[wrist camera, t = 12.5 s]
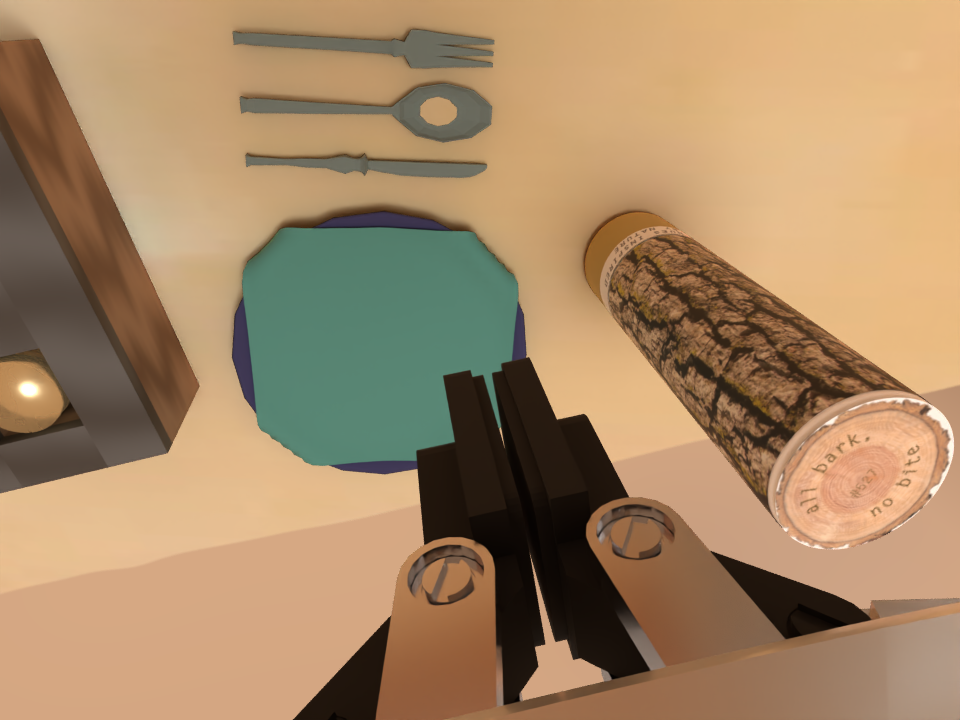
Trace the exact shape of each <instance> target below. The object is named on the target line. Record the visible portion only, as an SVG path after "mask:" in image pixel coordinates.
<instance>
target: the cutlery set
mask: <svg viewBox="0 0 960 720" xmlns="http://www.w3.org/2000/svg"><path fill="white" fill-rule="evenodd" d="M233 40H234V45H235V44H248V45H258V46H274V47H290V48H307V49H323V50H338V51H353V52H367V53H382V54H392V55H393V56H394V57H397V56H402V55H404V56H405V58H406V59H407V61H408V63H409V65H410V67H411V68H441V67H493V63H489V62H481V61H473V60H465V59H457V58H449V57H441V56H493V53H494V52H492V51H484V50H476V49H469V48H461V47H453V46H445V45H454V44H494V40H488V39H481V38H473V37H465V36H458V35H450V34H442V33H435V32H431V31H426V30H410V32H409V34H408V35H407V37H406V39H405V41H404V42H403V41H400V40H397V39H393V40H392V41H381V40H365V39H349V38H332V37H314V36H297V35H279V34H262V33H240V32H237V31H233ZM434 97H442V98H445V99H448V100H450V101H451V102H452V103H453V104H454V105H455V106H456V107H457V117H456V118H455V119H454V120H453V121H452V122H451V123H449V124H447V125H442V126H435V125H432V124H429V123H427V122H426V121H425V120H424V119H423V118H422V117H421V116H420V106H421V105H422V104H423V103H424V102H425V101H426V100H427V99H430V98H434ZM240 105H241V113H244V112H252V113H294V114H392V115H393V116H394V117H395V118H396V119H397V120H398V121H399V122H400V123H402V124H403V125H404V126H405V127H406V128H408V129H409V130H410V131H411V132H412V133H414V134H415V135H416V136H419V137H423V138H427V139H431V140H435V141H439V142H449V141H455V140H462V139H468V138H472V137H473V136H475V135H476V134H478V133H479V132H481V131H482V130H484V129H485V128H487V127H488V126H489V125H491V117H492V106H491V105H490V104H489V103H488V102H486V101H485V100H484V99H483V98H482V97H481V96H479V95H478V94H477V93H476V92H475V91H474V90H470V89H466V88H462V87H458V86H454V85H450V84H447V83H443V84H437V85H430V86H424V87H418V88H416V89H415V90H413V91H412V92H411V93H409V94H408V95H407V96H405V97H404V98H403V99H401V100H400V101H399V102H397V103H396V104H395V105H394V106H392V107H385V106H368V105H352V104H336V103H320V102H305V101H291V100H276V99H263V98H250V99H248V98H245V97H242V96H241V97H240ZM245 156H246V166H247V167H248V166H250V165H290V166H298V167H309V168H327V169H331V170H334V171H338V172H341V173H345V174H346V173H349V172H352V171H360V172H362V173H363V174H364V175H366V173H367V171H368V169H369V170H374V171H378V172H383V173H390V174H396V175H404V176H419V177H454V178H464V177H471V176H475V175H477V174H479V173H481V172H483V171H485V170H486V168H487V164H471V163H442V162H414V161H386V160H368V159H367V157H366V155H365V154H364V155H363V156H362V157H360V158H352V157H350V156H348V155H341V156H337V157H332V158H328V159H316V158H295V159H283V158H269V157H254V156H250V155H249V154H248V153H247V154H246V155H245ZM242 286H243V298H242V300H241V302H240V304H239V307H238V309H237V311H236V313H235V319H234V335H233V350H232V359H233V362H234V365H235V369H236V372H237V375H238V378H239V382H240V385H241V388H242V391H243V395H244V398H245V399H246V400H247V402H248V403H249V405H250V406H251V407H252V409H253V410H254V411H255V413H256V414H257V422H258V426H259V428H260V429H261V431H263V432H265V433H267V434H269V435H270V436H271V438H272V439H274V440H276V441H278V442H280V443H281V444H282V446H283V447H285V448H287V449H289V450H291V451H292V452H293V454H294V455H296V456H298V457H300V458H302V459H303V460H304V462H306V463H309V464H311V465H319V466H325V465H329V466H332V467H335V468H338V469H340V470H343V471H354V472H365V473H377V474H389V473H395V472H402V471H408V470H414V469H418V468H417V457H416V451H417V450H420V449H425V448H429V447H434V446H438V445H443V444H448V443H452V442H455V440H454V435H453V429H452V424H451V418H450V413H449V407H448V402H447V396H446V390H445V385H444V379H443V375H448V374H453V373H457V372H462V371H467V370H471V373H472V377H474V376H479V375H483V376H484V379H485V383H486V386H487V389H488V393H489V396H490V400H491V403H492V407H493V410H494V413H495V417H496V420H497V424H498V427H499V428H500V427H501V423H500V418H499V412H498V407H497V401H496V396H495V390H494V384H493V379H492V373H493V372H498V371H502V369H501V363H504V362H509V361H514V360H518V359H523V358H526V355H527V354H526V340H525V325H524V314H523V312H522V309H521V307H520V305H519V302H518V283H517V281H516V278H515V276H514V274H512V273H510V272H508V271H507V270H506V268H505V266H504V265H503V264H501V263H500V262H498V261H497V259H496V257H495V255H494V254H492V253H490V252H489V251H488V250H487V248H486V246H485V244H484V243H482V242H481V241H479V240H478V239H477V236H476V234H475V233H473V232H469V231H453V230H451V229H449V228H447V227H445V226H443V225H441V224H439V223H437V222H436V221H434V220H430V219H425V218H419V217H414V216H408V215H402V214H397V213H391V212H386V211H381V212H373V213H366V214H358V215H351V216H343V217H335V218H332V219H330V220H328V221H326V222H324V223H321V224H319V225H317V226H315V227H313V228H283V229H280V230H279V231H278V232H277V233H276V235H275V236H274V237H273V238H272V240H271V241H270V242H269V243H268V244H267V245H266V246H265V247H264V248H263V249H262V250H261V251H260V252H259V253H258V254H256V255H255V256H254V257H253V258H252V259H250V260H249V261H248V262H247V265H246V267H245V269H244V271H243V280H242Z"/></svg>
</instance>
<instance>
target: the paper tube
mask: <svg viewBox="0 0 960 720" xmlns="http://www.w3.org/2000/svg"><path fill="white" fill-rule="evenodd" d="M585 273H586V278H587V281H588V283H589V286H590V288H591V289H592V291H593V292H594V293H595V295H596V296H597V297H598V298H599V300H600V301H601V302H602V303H603V305H604V306H605V307H606V309H607V310H608V312H609V313H610V314H611V315H612V317H613V318H614V319H615V320H616V322H617V323H618V324H619V325H620V327H621V328H622V329H623V330H624V332H625V333H626V334H627V335H628V337H629V338H630V339H631V340H632V342H633V343H634V344H635V345H636V347H637V348H638V349H639V350H640V352H641V353H642V354H643V355H644V357H645V358H646V359H647V360H648V362H649V363H650V364H651V365H652V367H653V368H654V369H655V370H656V372H657V373H658V374H659V375H660V377H661V378H662V379H663V380H664V382H665V383H666V384H667V385H668V387H669V388H670V389H671V390H672V392H673V393H674V394H675V395H676V397H677V398H678V399H679V400H680V402H681V403H682V404H683V405H684V407H685V408H686V409H687V410H688V412H689V413H690V414H691V415H692V417H693V418H694V419H695V420H696V422H697V423H698V424H699V425H700V427H701V428H702V429H703V430H704V432H705V433H706V434H707V435H708V437H709V438H710V439H711V440H712V442H713V443H714V444H715V445H716V447H717V448H718V449H719V450H720V452H721V453H722V454H723V455H724V457H725V458H726V459H727V460H728V462H729V463H730V464H731V465H732V467H733V468H734V469H735V470H736V472H737V473H738V474H739V475H740V477H741V478H742V479H743V480H744V482H745V483H746V484H747V485H748V487H749V488H750V489H751V490H752V492H753V493H754V494H755V495H756V497H757V498H758V499H759V500H760V502H761V503H762V504H763V505H764V507H765V508H766V509H767V510H768V512H769V513H770V514H771V515H772V517H773V518H774V519H775V520H776V522H777V523H778V524H779V525H780V526H781V527H782V528H783V529H784V530H785V532H786V533H787V534H788V535H789V536H791V537H792V538H793V539H794V540H796V541H798V542H800V543H802V544H804V545H806V546H810V547H814V548H819V549H842V548H849V547H854V546H858V545H862V544H865V543H868V542H870V541H873V540H875V539H878V538H880V537H882V536H884V535H886V534H888V533H890V532H891V531H893V530H895V529H896V528H898V527H900V526H901V525H903V524H904V523H905V522H907V521H908V520H909V519H910V518H912V517H913V516H914V515H915V514H917V513H918V512H919V511H920V510H921V509H922V508H923V507H924V506H925V505H926V504H927V503H928V501H929V500H930V499H931V498H932V497H933V496H934V494H935V493H936V492H937V490H938V489H939V487H940V485H941V484H942V482H943V481H944V479H945V477H946V475H947V472H948V470H949V467H950V464H951V461H952V456H953V450H954V439H953V433H952V429H951V427H950V424H949V422H948V421H947V419H946V418H945V416H944V415H943V414H942V413H941V412H940V411H938V410H937V409H936V408H935V407H933V406H932V405H931V404H930V403H929V402H928V401H926V400H925V399H924V398H922V397H921V396H919V395H918V394H916V393H915V392H914V391H912V390H911V389H909V388H908V387H906V386H905V385H903V384H902V383H901V382H899V381H898V380H896V379H895V378H893V377H892V376H890V375H889V374H888V373H886V372H885V371H883V370H882V369H880V368H879V367H877V366H876V365H874V364H873V363H872V362H870V361H869V360H867V359H866V358H864V357H863V356H861V355H860V354H859V353H857V352H856V351H854V350H853V349H851V348H850V347H848V346H847V345H846V344H844V343H843V342H841V341H840V340H838V339H837V338H835V337H834V336H833V335H831V334H830V333H828V332H827V331H825V330H824V329H822V328H821V327H820V326H818V325H817V324H815V323H814V322H812V321H811V320H809V319H808V318H807V317H805V316H804V315H802V314H801V313H799V312H798V311H796V310H795V309H794V308H792V307H791V306H789V305H788V304H786V303H785V302H783V301H782V300H781V299H779V298H778V297H776V296H775V295H773V294H772V293H770V292H769V291H768V290H766V289H765V288H763V287H762V286H760V285H759V284H757V283H756V282H755V281H753V280H752V279H750V278H749V277H747V276H746V275H744V274H743V273H742V272H740V271H739V270H737V269H736V268H734V267H733V266H731V265H730V264H729V263H727V262H726V261H724V260H723V259H721V258H720V257H718V256H717V255H716V254H714V253H713V252H711V251H710V250H708V249H707V248H705V247H704V246H702V245H701V244H700V243H698V242H697V241H695V240H694V239H692V238H691V237H689V236H688V235H687V234H685V233H683V232H682V231H680V230H679V229H677V228H676V227H674V226H673V225H671V224H670V223H669V222H667V221H666V220H664V219H663V218H661V217H659V216H657V215H654V214H650V213H645V212H633V213H628V214H624V215H621V216H619V217H617V218H615V219H613V220H611V221H610V222H608V223H607V224H606V225H605V226H604V227H602V228H601V229H600V230H599V232H598V233H597V234H596V235H595V237H594V238H593V240H592V241H591V243H590V245H589V248H588V250H587V254H586V259H585Z"/></svg>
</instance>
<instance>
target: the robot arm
mask: <svg viewBox="0 0 960 720" xmlns="http://www.w3.org/2000/svg"><path fill="white" fill-rule="evenodd" d="M501 369H502V371H498V372H493V373H492V379H493V384H494V390H495V396H496V401H497V407H498V412H499V418H500V423H501V429H502V435H503V440H504V444H503V441H502V437H501V434H500V430H499V427H498V424H497V420H496V417H495V413H494V410H493V407H492V403H491V400H490V396H489V393H488V389H487V386H486V383H485V379H484V376H483V375H479V376H474V377H472V373H471V370H467V371H462V372H457V373H453V374H448V375H443V379H444V385H445V390H446V396H447V402H448V407H449V413H450V418H451V424H452V429H453V435H454V440H455V442H452V443H448V444H443V445H438V446H434V447H429V448H425V449H420V450H417V451H416V457H417V468H418V480H419V491H420V502H421V513H422V524H423V535H424V546H422V547H420V548H419V549H417V550H416V551H415V552H413V553H412V554H411V555H410V556H409V557H408V558H407V560H406V561H405V562H404V564H403V565H402V566H401V568H400V571H399V574H398V577H397V582H396V589H395V596H394V601H393V608H392V615H391V616H390V617H389V618H388V619H387V620H386V621H385V622H384V623H383V624H382V625H381V626H380V628H379V629H378V630H377V631H376V632H375V633H374V634H373V635H372V636H371V637H370V638H369V639H368V640H367V641H366V642H365V644H364V645H363V646H362V647H361V648H360V649H359V650H358V651H357V652H356V653H355V654H354V655H353V656H352V657H351V659H350V660H349V661H348V662H347V663H346V664H345V665H344V666H343V667H342V668H341V669H340V670H339V671H338V672H337V673H336V674H335V676H334V677H333V678H332V679H331V680H330V681H329V682H328V683H327V684H326V685H325V686H324V687H323V688H322V689H321V691H319V693H318V694H317V695H316V696H315V697H314V698H313V699H312V700H311V701H310V702H309V703H308V704H307V705H306V707H305V708H304V709H303V710H302V711H301V712H300V713H299V714H298V715H297V716H296V717H295V718H294V719H293V720H960V598H953V599H911V600H872V601H871V606H870V609H859V608H858V607H857V606H855V605H854V604H852V603H851V602H848V601H846V600H844V599H842V598H840V597H838V596H836V595H833V594H830V593H828V592H825V591H822V590H819V589H816V588H813V587H811V586H808V585H805V584H802V583H800V582H797V581H794V580H791V579H788V578H785V577H782V576H780V575H777V574H774V573H771V572H768V571H766V570H763V569H760V568H757V567H754V566H751V565H749V564H746V563H743V562H740V561H738V560H735V559H732V558H729V557H726V556H723V555H720V554H717V553H715V552H712V551H710V550H709V549H708V548H707V547H706V546H705V545H704V543H703V542H702V541H701V540H700V539H699V538H698V536H696V534H695V533H694V532H693V531H692V529H691V528H690V527H689V526H688V525H687V524H686V523H685V521H684V520H683V519H682V518H681V517H680V516H679V515H678V514H677V513H676V512H675V511H674V510H673V509H671V508H670V507H669V506H667V505H665V504H662V503H660V502H658V501H656V500H651V499H646V498H642V497H638V498H633V497H632V498H630V497H629V496H628V494H627V492H626V490H625V489H624V486H623V484H622V483H621V481H620V479H619V477H618V475H617V473H616V471H615V469H614V467H613V465H612V463H611V461H610V459H609V457H608V455H607V453H606V452H605V450H604V448H603V446H602V444H601V442H600V440H599V438H598V436H597V434H596V432H595V430H594V428H593V426H592V425H591V423H590V421H589V419H588V417H587V416H586V415H585V414H581V415H577V416H572V417H568V418H563V419H558V420H557V419H556V417H555V414H554V412H553V410H552V407H551V405H550V403H549V401H548V398H547V396H546V394H545V392H544V389H543V387H542V385H541V382H540V380H539V378H538V376H537V373H536V371H535V369H534V367H533V364H532V362H531V360H530V358H529V357H528V358H523V359H518V360H514V361H509V362H504V363H501ZM504 446H505V448H504ZM529 551H530V552H529ZM530 555H531V558H532V562H533V565H534V569H535V572H536V576H537V580H538V583H539V586H540V590H541V594H542V597H543V601H544V604H545V608H546V611H547V615H548V619H549V622H550V626H551V629H552V633H553V636H554V639H555V641H556V642H558V641H562V640H567V641H568V644H569V647H570V651H571V654H572V657H573V660H575V659H579V658H582V659H583V660H585V661H587V662H589V663H591V664H593V665H595V666H597V667H599V668H601V671H602V676H603V679H604V682H600V683H596V684H593V685H588V686H584V687H579V688H575V689H571V690H567V691H562V692H559V693H554V694H550V695H546V696H541V697H537V698H533V699H529V700H524V701H523V699H522V694H521V691H522V689H523V688H524V686H525V685H526V684H527V682H528V681H529V679H530V678H531V676H532V675H533V673H534V672H535V671H536V669H537V668H538V661H537V656H536V651H535V647H536V646H541V645H545V640H544V633H543V627H542V622H541V616H540V610H539V604H538V598H537V592H536V586H535V581H534V575H533V569H532V563H531V558H530Z"/></svg>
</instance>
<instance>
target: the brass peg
mask: <svg viewBox="0 0 960 720" xmlns="http://www.w3.org/2000/svg"><path fill="white" fill-rule="evenodd" d="M69 403H70V400H69V399H68V397H67V395H66V394H65V392H64V390H63V388H62V387H61V385H60V383H59V382H58V380H57V378H56V376H55V375H54V373H53V371H52V370H51V368H50V366H49V364H48V363H47V361H46V359H45V357H44V356H43V354H42V352H41V351H40V349H39V348H38V349H34V350H29V351H25V352H21V353H16V354H12V355H8V356H4V357H0V428H3V429H6V430H9V431H13V432H20V433H31V432H37V431H41V430H43V429H46V428H47V427H49V426H51V425H52V424H53V423H54V422H55V421H56V420H57V419H58V417H59V416H60V415H61V414H62V412H63V411H64V410H65V409H66V407H67V406H68V405H69Z"/></svg>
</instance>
